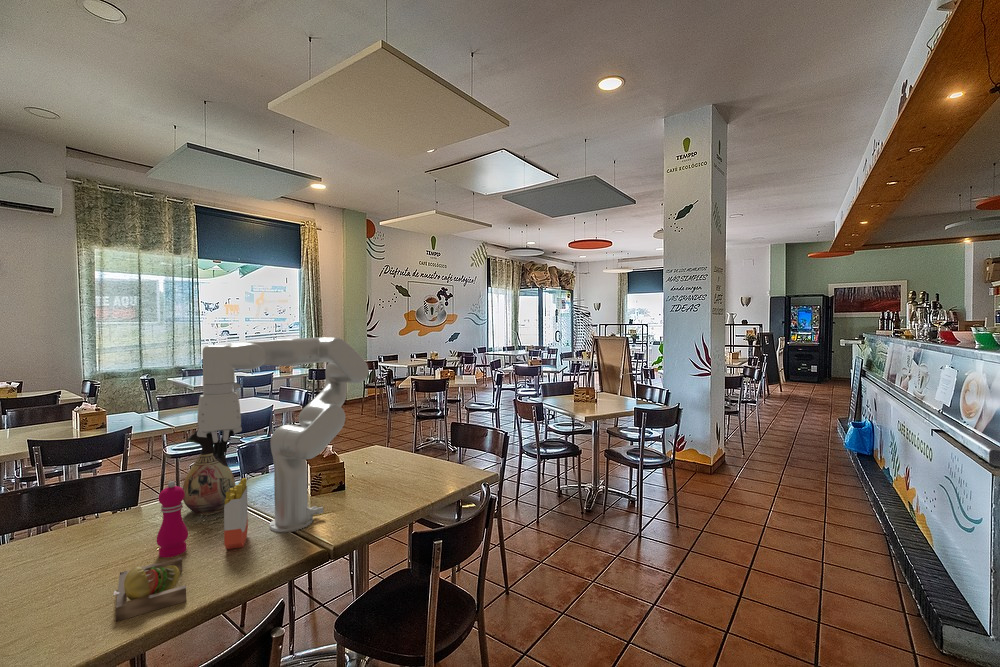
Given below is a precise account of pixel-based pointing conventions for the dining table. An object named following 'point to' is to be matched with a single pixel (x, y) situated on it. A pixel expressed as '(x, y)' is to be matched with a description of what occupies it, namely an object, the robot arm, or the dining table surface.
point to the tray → (150, 601)
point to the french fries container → (236, 516)
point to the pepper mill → (172, 522)
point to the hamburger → (149, 581)
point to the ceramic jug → (207, 480)
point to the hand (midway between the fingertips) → (220, 455)
